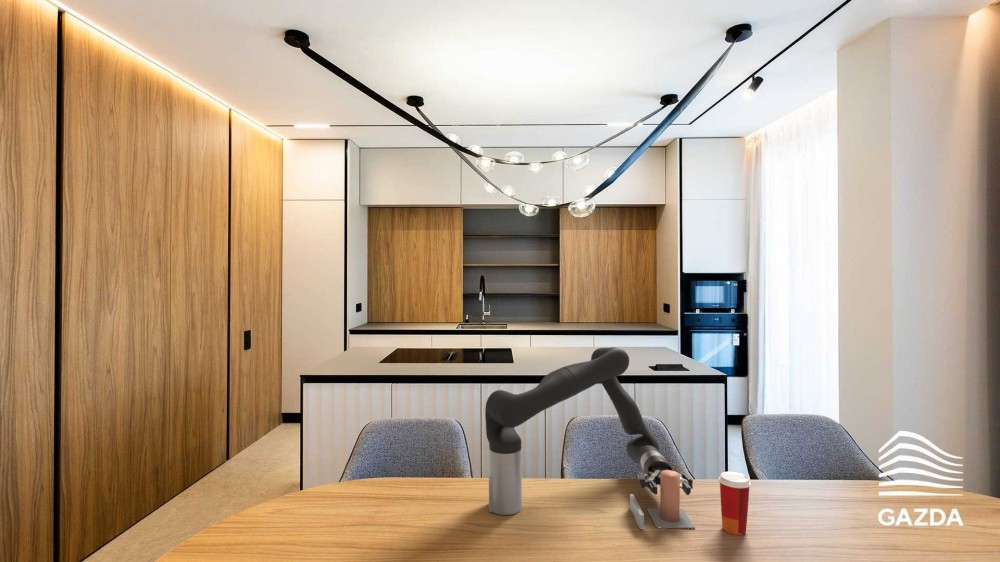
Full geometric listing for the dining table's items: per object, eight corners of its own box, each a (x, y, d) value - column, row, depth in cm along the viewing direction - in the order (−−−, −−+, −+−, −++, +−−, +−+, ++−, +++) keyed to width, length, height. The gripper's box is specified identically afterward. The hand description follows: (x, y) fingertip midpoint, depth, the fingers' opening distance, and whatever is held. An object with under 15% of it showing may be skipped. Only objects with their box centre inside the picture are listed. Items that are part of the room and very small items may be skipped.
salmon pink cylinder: (663, 521, 134) (663, 477, 134) (657, 512, 139) (658, 470, 138) (681, 522, 134) (682, 477, 133) (676, 513, 139) (676, 470, 138)
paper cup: (743, 522, 134) (744, 471, 134) (755, 538, 126) (755, 483, 126) (713, 521, 135) (713, 470, 134) (723, 536, 127) (723, 482, 127)
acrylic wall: (640, 530, 131) (640, 514, 130) (629, 508, 143) (629, 494, 142) (643, 530, 130) (643, 515, 130) (633, 508, 142) (633, 494, 142)
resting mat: (656, 528, 131) (656, 526, 131) (646, 509, 141) (646, 508, 141) (695, 528, 131) (695, 527, 131) (682, 510, 141) (682, 509, 141)
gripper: (631, 454, 150) (645, 477, 134) (679, 455, 150) (699, 477, 134) (631, 479, 151) (645, 504, 134) (679, 479, 150) (699, 505, 134)
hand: (672, 491), depth 134 cm, fingers open, 8 cm apart
